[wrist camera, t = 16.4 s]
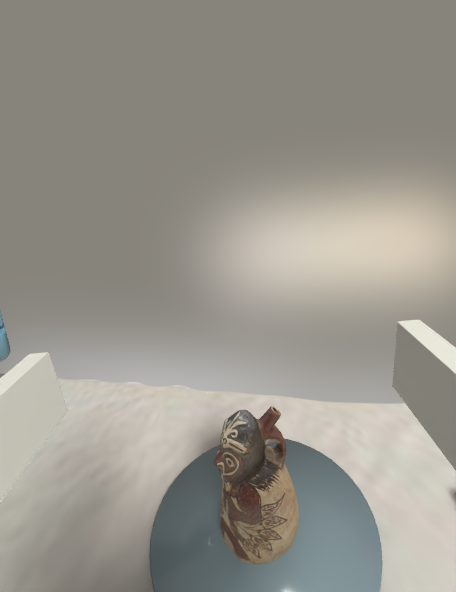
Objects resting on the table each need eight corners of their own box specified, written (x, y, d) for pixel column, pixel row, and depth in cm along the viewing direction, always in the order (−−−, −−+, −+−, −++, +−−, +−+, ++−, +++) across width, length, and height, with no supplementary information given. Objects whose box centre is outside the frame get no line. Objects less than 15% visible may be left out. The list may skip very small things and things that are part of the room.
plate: (113, 536, 31) (110, 527, 30) (254, 420, 43) (253, 412, 43) (280, 813, 16) (278, 804, 16) (420, 521, 29) (421, 512, 28)
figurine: (218, 492, 32) (200, 393, 28) (287, 480, 33) (280, 381, 29) (223, 573, 26) (202, 459, 22) (310, 557, 26) (306, 442, 22)
